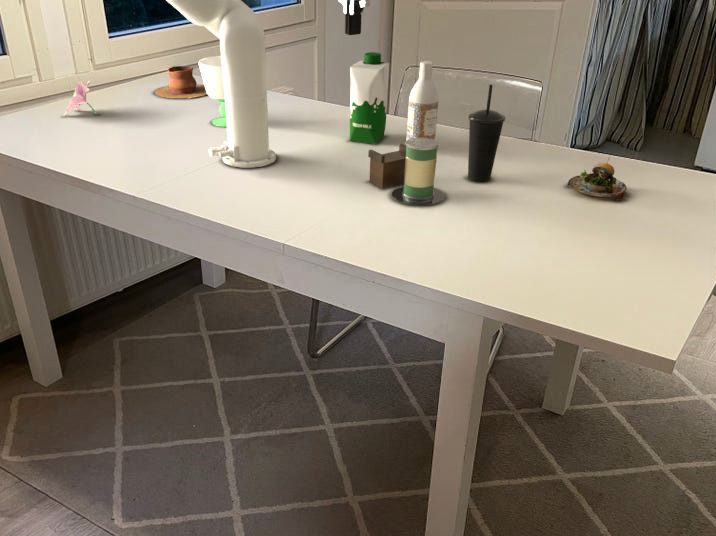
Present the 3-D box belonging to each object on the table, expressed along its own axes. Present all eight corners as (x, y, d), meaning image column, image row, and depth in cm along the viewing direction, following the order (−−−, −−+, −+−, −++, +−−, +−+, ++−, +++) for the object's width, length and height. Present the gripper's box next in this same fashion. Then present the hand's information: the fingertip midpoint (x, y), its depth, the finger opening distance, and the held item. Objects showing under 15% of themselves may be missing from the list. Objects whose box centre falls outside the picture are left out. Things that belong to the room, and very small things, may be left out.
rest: (380, 189, 152) (381, 156, 148) (367, 182, 156) (368, 149, 152) (413, 181, 156) (416, 149, 152) (400, 175, 160) (402, 143, 156)
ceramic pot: (146, 97, 216) (142, 73, 212) (165, 83, 231) (163, 60, 227) (202, 100, 214) (200, 75, 210) (219, 86, 228) (217, 62, 224)
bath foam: (418, 154, 172) (424, 66, 160) (400, 147, 176) (405, 61, 165) (439, 149, 175) (447, 63, 163) (421, 142, 179) (428, 58, 168)
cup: (264, 120, 196) (261, 59, 187) (233, 132, 187) (228, 68, 178) (225, 112, 202) (220, 53, 193) (193, 124, 193) (187, 62, 184)
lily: (99, 109, 209) (77, 80, 204) (117, 100, 200) (95, 69, 195) (70, 132, 203) (47, 102, 198) (87, 123, 194) (64, 91, 190)
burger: (555, 186, 154) (562, 152, 149) (598, 179, 157) (606, 145, 153) (593, 206, 144) (601, 170, 140) (638, 197, 148) (647, 162, 144)
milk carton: (388, 135, 184) (393, 53, 173) (377, 146, 177) (381, 60, 166) (356, 132, 187) (359, 50, 175) (344, 142, 180) (346, 57, 168)
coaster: (412, 210, 143) (412, 208, 143) (381, 193, 151) (381, 191, 151) (455, 199, 148) (455, 198, 147) (422, 183, 155) (422, 182, 155)
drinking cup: (498, 175, 160) (512, 82, 148) (493, 186, 154) (507, 90, 142) (464, 171, 162) (475, 79, 150) (458, 182, 156) (469, 87, 144)
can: (407, 213, 149) (438, 178, 138) (380, 167, 151) (408, 128, 140) (430, 206, 152) (462, 171, 141) (403, 161, 154) (432, 122, 143)
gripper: (320, -65, 149) (320, 30, 159) (360, -61, 138) (357, 41, 149) (350, -66, 152) (348, 27, 162) (391, -62, 141) (386, 37, 152)
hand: (352, 33), depth 155 cm, fingers closed
